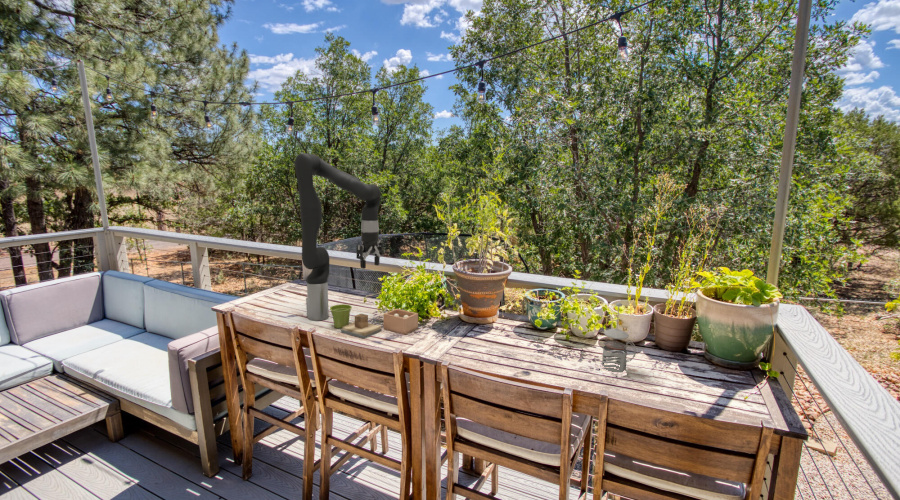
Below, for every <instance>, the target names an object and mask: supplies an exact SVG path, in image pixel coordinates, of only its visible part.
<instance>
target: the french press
mask: <svg viewBox="0 0 900 500" xmlns="http://www.w3.org/2000/svg"><path fill="white" fill-rule="evenodd" d="M615 306H616V307H618V308H617V315H619V312H620V307H622V306H623V304H622V302H620V301H619V302H616V303H615ZM618 324H619V317H617V319H616V326H618ZM603 334H604V336H606V337H608V338H610V339H613V340H609V341H606V342H604V346H603V349H602V358H601V359H602V360H601V365H603V366H604V367H616V368H619V370H617V369H614V368H604V369H606V370H608V371H612V372H623V371H624V370H626V371H627V363H628V362H631V361H633V359H634V358H635V357H636V354H637V347H636V345H635V344H634V342H633V341H632V340H630V339H629V338H630V337H629V336H630V335H629V334H628V332H626V331H625V330H622V329H619V328H609V329H606V330H604V331H603ZM626 339H627V341H625V343H622V342H620V341H617V340H626ZM629 344H630V345H631V347H632V349H633V356H632V358H630V359H629V358H628V359H627V357H628V356H627V355H628V354H627V353H628V350H627V346H628V345H629ZM604 363H615V364H618V365H620V367H619V366H616V365H604Z"/></svg>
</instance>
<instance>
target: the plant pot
mask: <svg viewBox="0 0 900 500" xmlns="http://www.w3.org/2000/svg"><path fill="white" fill-rule="evenodd" d="M352 309H353V306H352V305H350V304H341V303H340V304H336V305H332V306H330V307H329V310H330V312H331V316H332V320H333V326H334V328H335V329H342V327H343V326H346V325H348V324H350V313H351V310H352Z"/></svg>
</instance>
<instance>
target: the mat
mask: <svg viewBox="0 0 900 500" xmlns="http://www.w3.org/2000/svg"><path fill="white" fill-rule="evenodd" d="M380 332H382V328H381V329H380V330H377V331H375V332H373V333H371V334H368V335H366V336H363V335H359V334H356V333H352V332H348V331H345V330H342V329H341V330H340V333H342V334H345V335H349V336H353V337H355V338H360V339H367V338H369V337H371V336H373V335H376V334H379V333H380Z"/></svg>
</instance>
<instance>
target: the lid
mask: <svg viewBox="0 0 900 500" xmlns="http://www.w3.org/2000/svg"><path fill="white" fill-rule="evenodd" d="M381 327H382V326H381V325H378V324H377V325H376V324H373V323H369V315H368V314H364V313H358V314H356V315H354V322H352V323H349V324H348V325H346V326H343V327H342V328H341V330H345V331H348V332H352V333H356V334H359V335H363V336H366V335H368V334H371V333H373V332H375V331H377V330H380V329H381V330H382V328H381Z"/></svg>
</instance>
